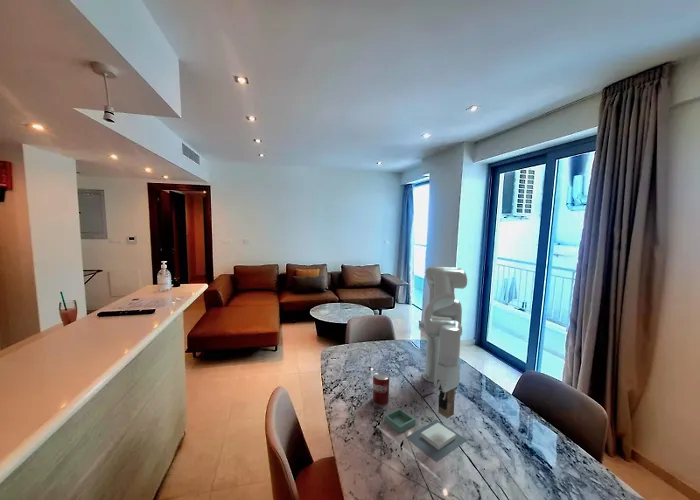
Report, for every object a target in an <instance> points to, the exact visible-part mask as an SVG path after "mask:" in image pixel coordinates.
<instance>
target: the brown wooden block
mask: <svg viewBox="0 0 700 500" xmlns="http://www.w3.org/2000/svg"><path fill="white" fill-rule="evenodd" d="M441 393H442V394H444V393H443V392H441ZM455 398H456V394H455V388H453V389H451V390H449V391H448V392H447V395H446V399H447V409H446V410H444V409H442V408H441V407H439V406H438V411H437V412H438V414H440V415H441V416H443V417H444V418H446V419H449V418H450V417H452V416H454V414H455Z"/></svg>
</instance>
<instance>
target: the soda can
mask: <svg viewBox="0 0 700 500" xmlns="http://www.w3.org/2000/svg"><path fill="white" fill-rule="evenodd" d="M389 399H390V376H389V374H388V373H385V372H376V373H374V374H373V376H372V402H373V403H374V404H375V405H377V406H381V407H382V406H386V405H387V404H388V403H389V402H390V400H389Z"/></svg>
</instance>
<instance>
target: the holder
mask: <svg viewBox="0 0 700 500" xmlns="http://www.w3.org/2000/svg"><path fill="white" fill-rule="evenodd" d="M384 422H385V423H386V424H388V426H390V427H391V428H393V430H394V431H396V432H397V433H399V434H402V433H404V432H406V431H407V430H409V429H411V428H412V427H414V426H416V418H415V417H413V416H412V415H410V413H408V412H406V411H405V410H403V409H402V408H400V407H399V408H397V409H395V410H393V411H390V412H389V413H386V414H385V415H384Z"/></svg>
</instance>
